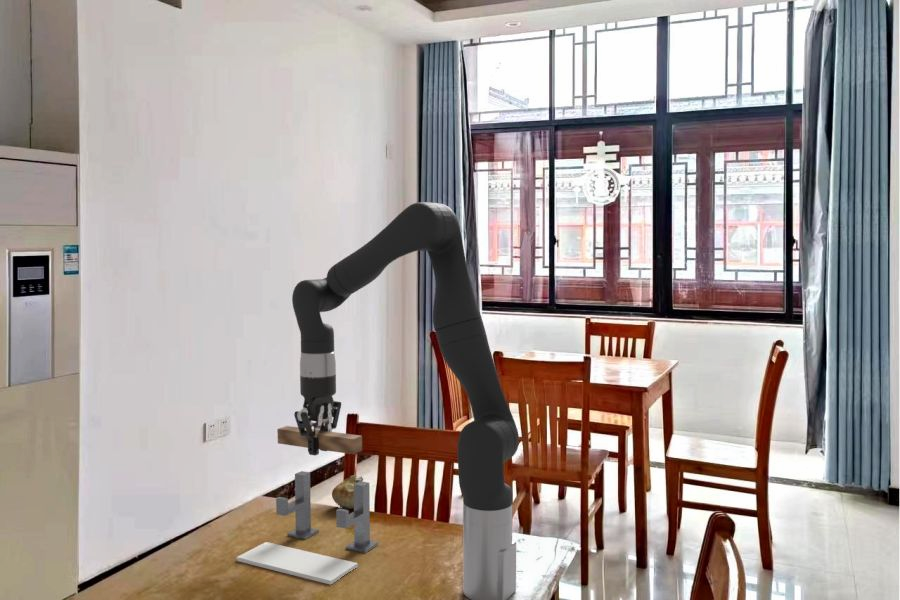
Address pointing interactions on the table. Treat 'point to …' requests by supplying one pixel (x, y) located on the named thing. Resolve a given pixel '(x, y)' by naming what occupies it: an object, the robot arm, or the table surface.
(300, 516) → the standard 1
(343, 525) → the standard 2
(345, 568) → the mat
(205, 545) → the table surface
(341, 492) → the onion
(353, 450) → the rail
